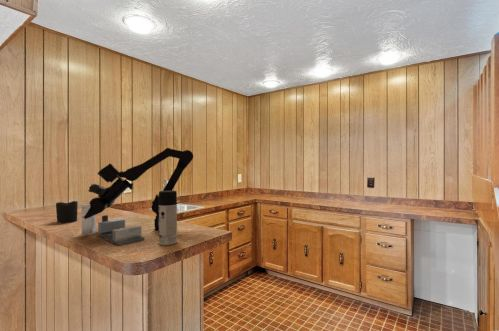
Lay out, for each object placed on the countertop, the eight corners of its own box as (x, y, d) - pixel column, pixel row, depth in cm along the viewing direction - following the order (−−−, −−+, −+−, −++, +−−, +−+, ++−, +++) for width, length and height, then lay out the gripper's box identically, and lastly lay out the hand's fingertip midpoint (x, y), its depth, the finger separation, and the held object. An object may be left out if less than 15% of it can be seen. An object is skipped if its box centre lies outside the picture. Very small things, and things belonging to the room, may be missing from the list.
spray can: (161, 240, 105) (160, 190, 105) (178, 240, 106) (178, 190, 105) (156, 246, 98) (156, 192, 98) (175, 245, 99) (174, 192, 99)
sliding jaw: (92, 228, 119) (91, 217, 119) (115, 224, 126) (115, 213, 126) (100, 233, 112) (100, 220, 112) (125, 228, 119) (124, 217, 119)
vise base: (97, 234, 114) (97, 223, 114) (122, 230, 121) (121, 219, 121) (118, 245, 99) (118, 232, 99) (144, 239, 106) (144, 227, 106)
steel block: (95, 232, 119) (95, 202, 118) (92, 235, 114) (91, 204, 113) (85, 232, 118) (85, 203, 117) (81, 235, 113) (81, 205, 112)
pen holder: (68, 223, 134) (67, 204, 134) (51, 223, 136) (51, 203, 135) (82, 219, 144) (81, 201, 144) (66, 219, 145) (66, 200, 145)
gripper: (107, 176, 125) (80, 200, 123) (95, 178, 107) (64, 207, 105) (125, 192, 128) (99, 216, 125) (116, 197, 110) (86, 225, 107)
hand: (88, 216), depth 115 cm, fingers open, 9 cm apart
